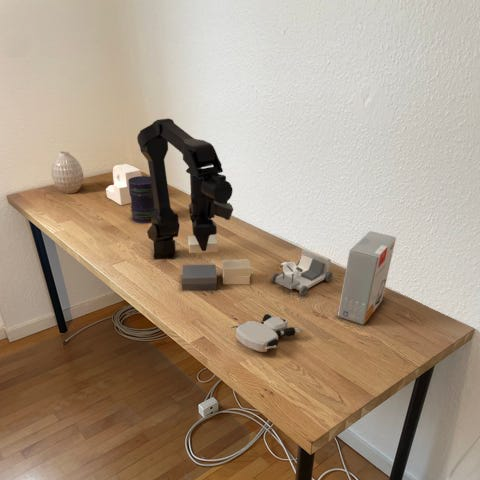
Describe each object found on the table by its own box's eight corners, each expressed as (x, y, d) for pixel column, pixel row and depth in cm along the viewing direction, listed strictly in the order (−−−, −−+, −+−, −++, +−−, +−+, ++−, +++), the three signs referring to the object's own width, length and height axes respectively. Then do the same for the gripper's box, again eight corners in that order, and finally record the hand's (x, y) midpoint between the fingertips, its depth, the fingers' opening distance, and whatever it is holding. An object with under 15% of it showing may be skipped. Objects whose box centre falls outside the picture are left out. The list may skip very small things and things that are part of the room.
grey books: (182, 290, 140) (181, 278, 138) (183, 276, 147) (182, 264, 145) (216, 290, 141) (216, 278, 138) (216, 276, 148) (216, 264, 146)
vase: (50, 190, 210) (42, 151, 201) (77, 184, 218) (70, 146, 209) (63, 198, 203) (55, 157, 194) (91, 191, 210) (85, 152, 201)
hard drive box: (364, 326, 126) (377, 257, 115) (336, 317, 130) (347, 250, 119) (382, 300, 137) (396, 236, 126) (357, 293, 141) (368, 229, 130)
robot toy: (266, 321, 129) (226, 340, 119) (268, 306, 126) (227, 325, 117) (302, 341, 122) (262, 363, 112) (304, 325, 119) (264, 347, 110)
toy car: (298, 270, 131) (266, 256, 138) (295, 300, 136) (264, 286, 143) (336, 250, 142) (304, 238, 148) (331, 279, 147) (302, 267, 154)
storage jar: (161, 215, 189) (158, 177, 181) (153, 224, 181) (150, 185, 173) (137, 212, 190) (133, 175, 182) (128, 222, 182) (123, 183, 174)
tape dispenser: (143, 199, 203) (140, 169, 196) (121, 205, 197) (117, 174, 190) (124, 190, 213) (121, 161, 206) (103, 194, 207) (98, 165, 200)
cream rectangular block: (189, 253, 135) (189, 244, 133) (188, 244, 140) (187, 236, 138) (217, 251, 136) (217, 243, 134) (215, 243, 141) (215, 234, 139)
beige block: (222, 284, 143) (222, 269, 140) (222, 274, 149) (222, 259, 146) (250, 284, 144) (251, 269, 141) (249, 274, 149) (249, 259, 146)
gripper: (236, 203, 122) (235, 259, 131) (226, 181, 138) (226, 232, 146) (192, 205, 121) (194, 261, 129) (187, 182, 136) (190, 233, 145)
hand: (202, 246), depth 137 cm, fingers closed on cream rectangular block, 6 cm apart
